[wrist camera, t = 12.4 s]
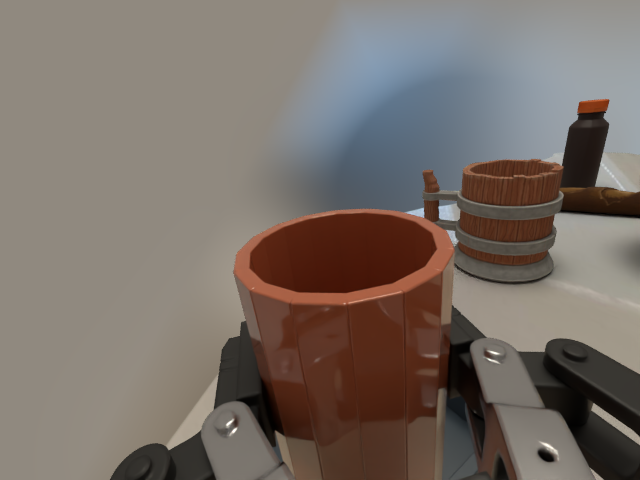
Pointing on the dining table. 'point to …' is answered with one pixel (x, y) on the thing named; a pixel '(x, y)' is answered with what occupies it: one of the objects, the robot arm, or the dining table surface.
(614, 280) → the dining table surface
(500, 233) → the mug
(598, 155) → the vinegar
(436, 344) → the tumbler
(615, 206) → the bread
